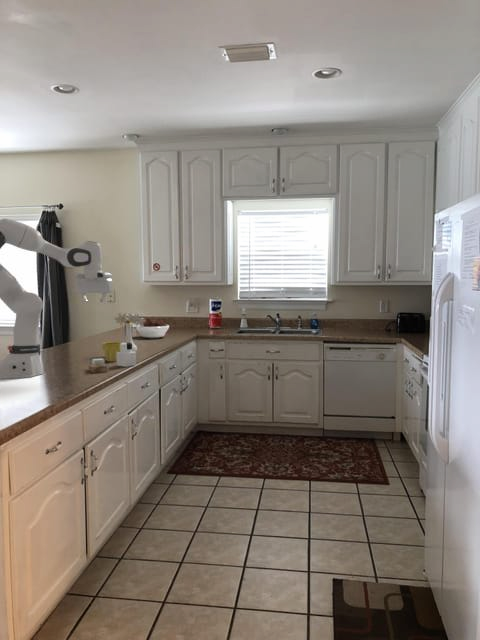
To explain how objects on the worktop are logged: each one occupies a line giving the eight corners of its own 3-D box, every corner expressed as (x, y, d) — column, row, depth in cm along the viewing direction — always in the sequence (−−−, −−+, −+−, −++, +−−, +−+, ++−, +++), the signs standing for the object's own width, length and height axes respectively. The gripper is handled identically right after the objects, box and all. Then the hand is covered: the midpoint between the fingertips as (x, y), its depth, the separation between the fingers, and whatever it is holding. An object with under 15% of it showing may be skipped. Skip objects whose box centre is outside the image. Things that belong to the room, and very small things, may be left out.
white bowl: (137, 336, 399) (137, 316, 397) (169, 335, 401) (169, 316, 400) (134, 340, 374) (134, 319, 373) (168, 339, 377) (168, 319, 375)
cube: (94, 370, 253) (94, 360, 253) (92, 368, 258) (91, 359, 257) (104, 369, 256) (104, 359, 256) (101, 368, 260) (101, 358, 260)
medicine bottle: (127, 363, 272) (127, 341, 271) (136, 365, 268) (135, 342, 267) (116, 365, 267) (116, 342, 266) (125, 367, 262) (124, 344, 261)
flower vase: (143, 356, 299) (143, 313, 296) (112, 355, 299) (111, 313, 297) (147, 352, 312) (147, 312, 309) (117, 352, 312) (117, 311, 310)
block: (92, 373, 245) (92, 367, 245) (89, 370, 251) (88, 364, 251) (107, 371, 249) (107, 365, 249) (103, 369, 255) (103, 363, 255)
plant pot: (115, 358, 290) (115, 341, 289) (125, 360, 283) (125, 343, 282) (99, 360, 283) (99, 342, 282) (109, 362, 275) (108, 344, 275)
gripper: (71, 274, 253) (72, 302, 254) (107, 274, 247) (108, 302, 248) (79, 274, 259) (79, 301, 260) (114, 274, 253) (115, 302, 254)
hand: (94, 302), depth 254 cm, fingers open, 8 cm apart
